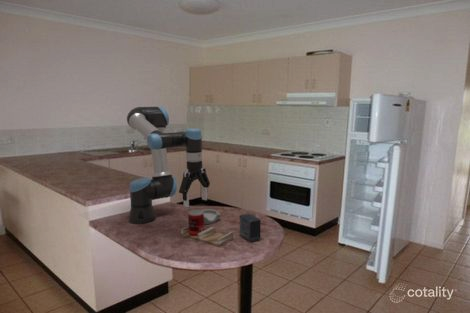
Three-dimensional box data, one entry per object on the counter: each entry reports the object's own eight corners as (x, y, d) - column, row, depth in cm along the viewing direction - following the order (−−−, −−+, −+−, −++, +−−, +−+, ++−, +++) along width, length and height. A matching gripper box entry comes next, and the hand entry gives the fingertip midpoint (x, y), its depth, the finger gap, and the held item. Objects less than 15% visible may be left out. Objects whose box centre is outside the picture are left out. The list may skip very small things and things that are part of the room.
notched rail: (181, 236, 165) (180, 229, 164) (195, 229, 174) (195, 222, 173) (219, 247, 152) (219, 239, 151) (233, 239, 161) (232, 232, 160)
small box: (261, 240, 159) (261, 219, 157) (249, 242, 156) (249, 221, 154) (250, 232, 168) (250, 213, 167) (239, 235, 165) (238, 215, 164)
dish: (222, 219, 189) (222, 211, 188) (207, 227, 177) (207, 218, 176) (203, 215, 196) (202, 207, 196) (187, 222, 185) (187, 213, 184)
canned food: (202, 229, 170) (202, 208, 169) (205, 235, 163) (205, 213, 161) (187, 231, 168) (187, 210, 167) (190, 236, 161) (189, 215, 159)
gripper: (182, 165, 148) (183, 211, 151) (216, 157, 168) (217, 198, 171) (170, 163, 152) (172, 208, 155) (204, 156, 172) (205, 196, 175)
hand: (195, 203), depth 163 cm, fingers open, 13 cm apart
